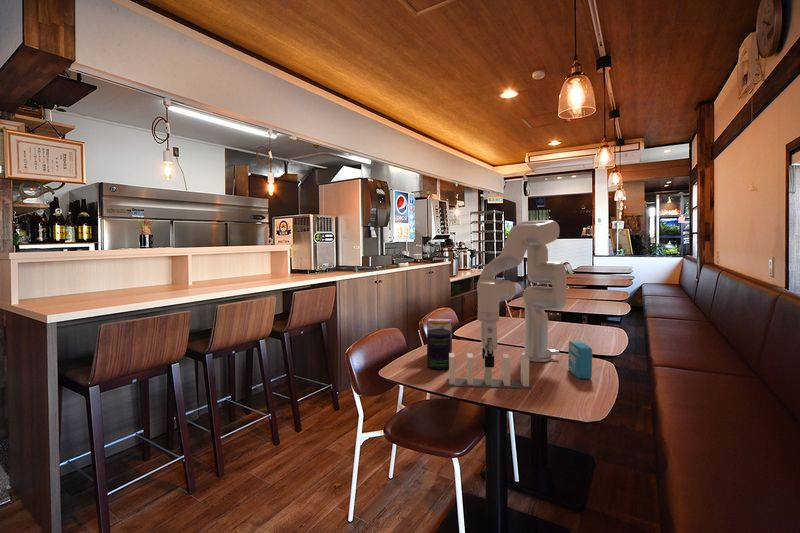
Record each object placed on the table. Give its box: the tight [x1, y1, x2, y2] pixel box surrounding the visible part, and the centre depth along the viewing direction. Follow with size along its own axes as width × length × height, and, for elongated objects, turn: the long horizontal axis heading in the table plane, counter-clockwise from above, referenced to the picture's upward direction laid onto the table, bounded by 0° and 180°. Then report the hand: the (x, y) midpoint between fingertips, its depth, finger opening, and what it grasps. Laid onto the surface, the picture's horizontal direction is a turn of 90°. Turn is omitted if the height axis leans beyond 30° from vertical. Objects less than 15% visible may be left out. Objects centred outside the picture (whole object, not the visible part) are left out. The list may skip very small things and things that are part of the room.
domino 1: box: [448, 352, 456, 384], centre depth 148 cm, size 2×5×10 cm, turn 174°
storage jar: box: [426, 329, 451, 372], centre depth 166 cm, size 10×10×15 cm
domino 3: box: [501, 353, 511, 386], centre depth 146 cm, size 2×5×10 cm, turn 173°
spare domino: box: [483, 354, 493, 385], centre depth 147 cm, size 2×5×10 cm, turn 174°
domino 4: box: [520, 354, 530, 386], centre depth 145 cm, size 2×5×10 cm, turn 173°
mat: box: [446, 377, 533, 390], centre depth 147 cm, size 30×7×1 cm, turn 84°
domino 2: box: [466, 352, 474, 385], centre depth 148 cm, size 2×5×10 cm, turn 173°
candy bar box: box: [426, 318, 453, 355], centre depth 181 cm, size 11×5×16 cm, turn 84°
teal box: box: [567, 340, 593, 380], centre depth 156 cm, size 12×4×12 cm, turn 176°
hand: (488, 362), depth 147 cm, fingers open, 9 cm apart
